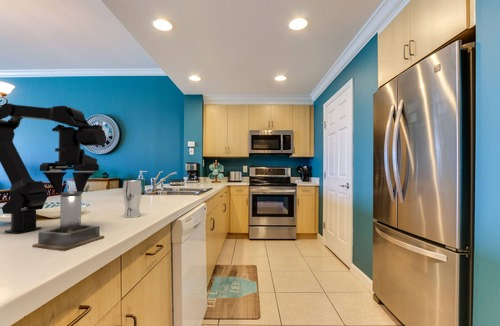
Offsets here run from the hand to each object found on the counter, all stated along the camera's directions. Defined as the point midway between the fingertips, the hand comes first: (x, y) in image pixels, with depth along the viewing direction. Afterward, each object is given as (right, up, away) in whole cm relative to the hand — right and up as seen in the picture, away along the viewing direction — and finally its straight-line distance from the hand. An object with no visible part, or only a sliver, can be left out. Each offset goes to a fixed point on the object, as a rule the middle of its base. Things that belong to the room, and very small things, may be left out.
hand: (69, 193), depth 75 cm
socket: (+10, -12, -12) cm, 20 cm away
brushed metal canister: (+10, -11, -12) cm, 19 cm away
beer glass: (+9, -13, +22) cm, 27 cm away
